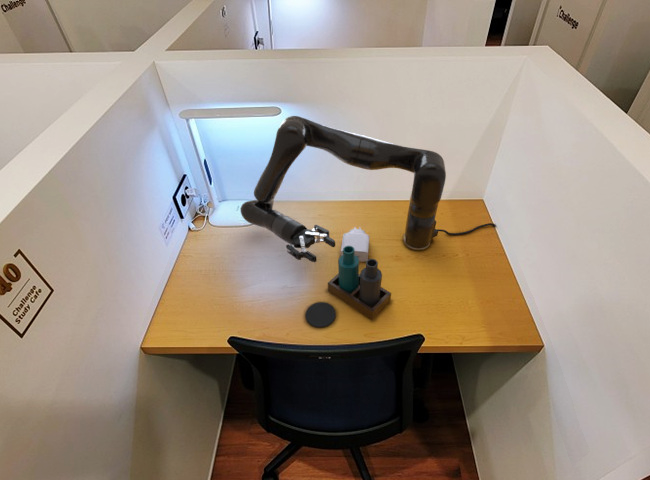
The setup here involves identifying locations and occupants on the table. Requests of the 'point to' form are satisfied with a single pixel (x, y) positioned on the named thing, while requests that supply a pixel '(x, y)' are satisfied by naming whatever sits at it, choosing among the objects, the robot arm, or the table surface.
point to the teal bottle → (348, 270)
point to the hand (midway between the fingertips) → (325, 251)
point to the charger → (357, 243)
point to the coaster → (320, 315)
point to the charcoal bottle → (370, 283)
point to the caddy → (353, 297)
